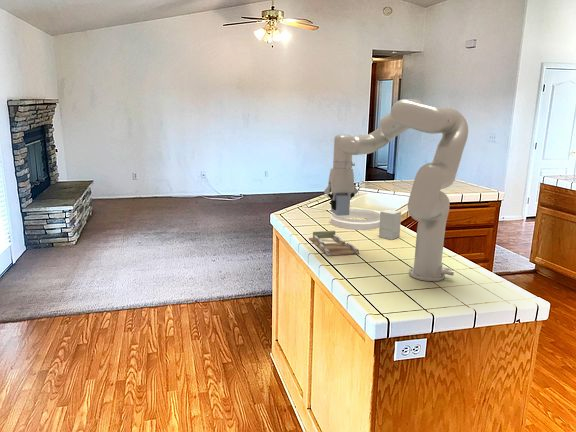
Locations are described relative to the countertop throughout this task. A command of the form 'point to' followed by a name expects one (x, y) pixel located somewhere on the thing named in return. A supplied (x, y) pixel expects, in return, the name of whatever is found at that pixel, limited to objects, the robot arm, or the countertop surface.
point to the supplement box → (390, 224)
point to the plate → (355, 224)
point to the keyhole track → (332, 244)
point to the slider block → (342, 204)
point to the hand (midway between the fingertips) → (340, 208)
